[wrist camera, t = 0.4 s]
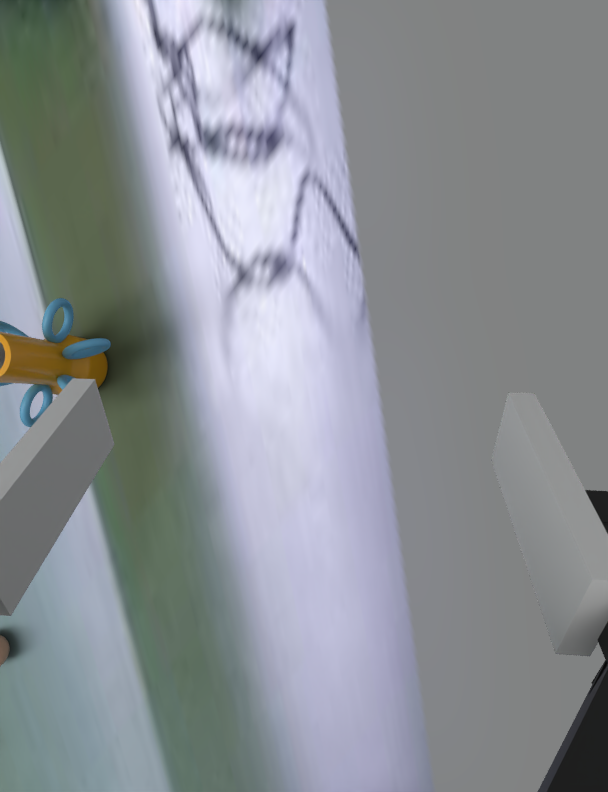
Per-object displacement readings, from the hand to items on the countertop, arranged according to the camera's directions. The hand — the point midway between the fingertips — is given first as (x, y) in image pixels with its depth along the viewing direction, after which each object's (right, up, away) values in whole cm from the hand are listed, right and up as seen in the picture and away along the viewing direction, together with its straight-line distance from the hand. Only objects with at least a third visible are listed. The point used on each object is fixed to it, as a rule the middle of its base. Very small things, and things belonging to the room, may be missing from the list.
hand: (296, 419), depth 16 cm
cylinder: (-23, +4, +37) cm, 44 cm away
